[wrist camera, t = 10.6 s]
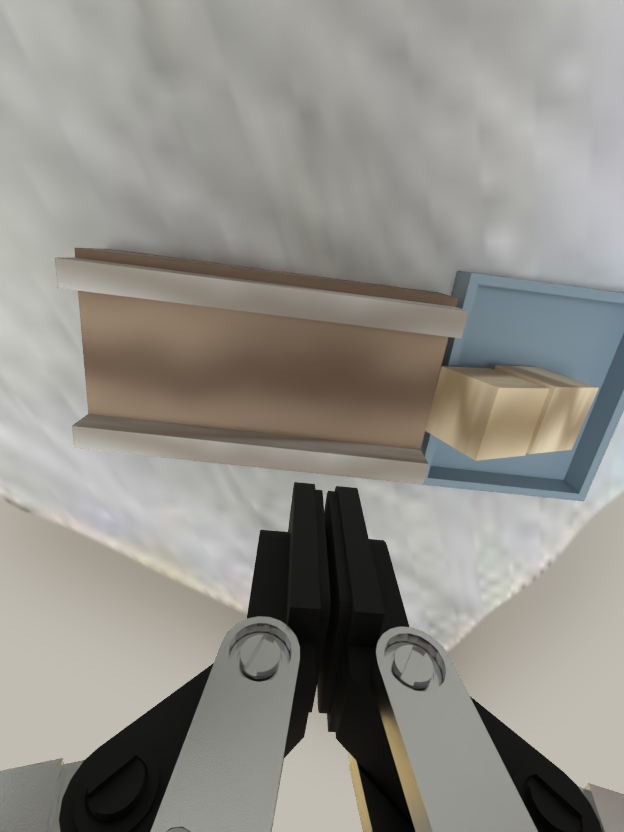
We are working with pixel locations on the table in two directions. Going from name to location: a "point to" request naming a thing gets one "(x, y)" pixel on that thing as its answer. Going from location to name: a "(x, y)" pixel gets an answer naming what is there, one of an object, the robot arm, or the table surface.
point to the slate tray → (545, 348)
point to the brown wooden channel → (256, 365)
